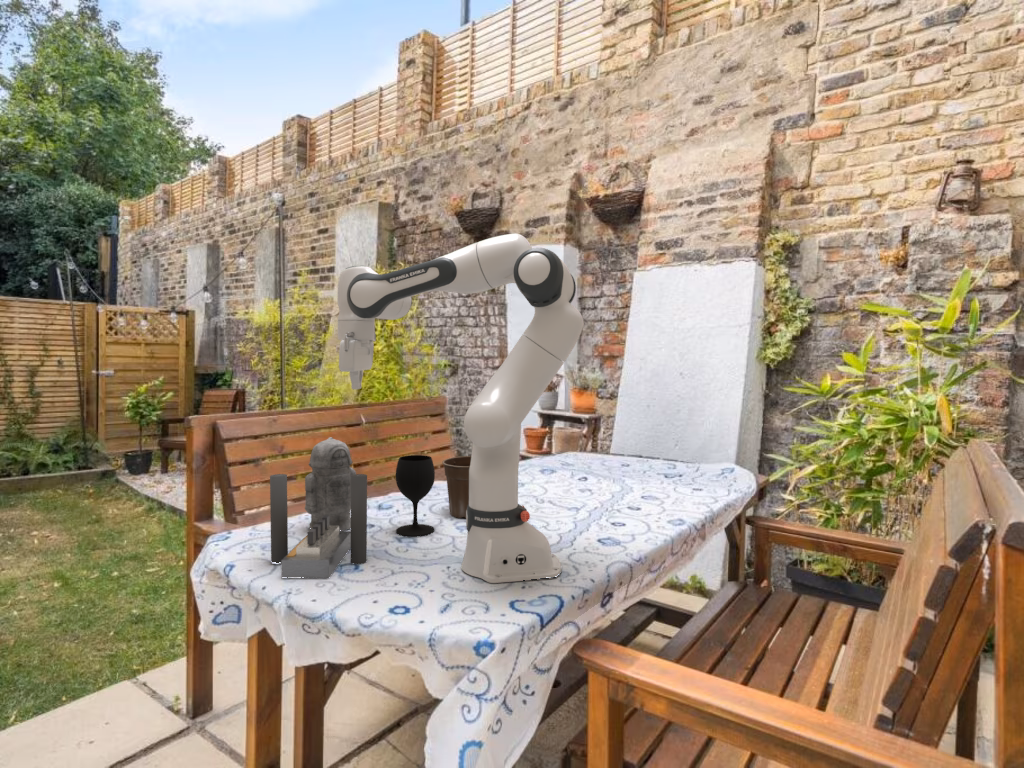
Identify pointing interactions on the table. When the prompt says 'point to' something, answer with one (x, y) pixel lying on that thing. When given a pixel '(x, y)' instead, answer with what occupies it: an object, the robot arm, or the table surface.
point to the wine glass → (415, 488)
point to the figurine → (330, 484)
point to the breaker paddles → (318, 529)
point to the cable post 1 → (278, 517)
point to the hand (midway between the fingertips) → (356, 389)
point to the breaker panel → (318, 562)
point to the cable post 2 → (358, 518)
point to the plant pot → (458, 484)
